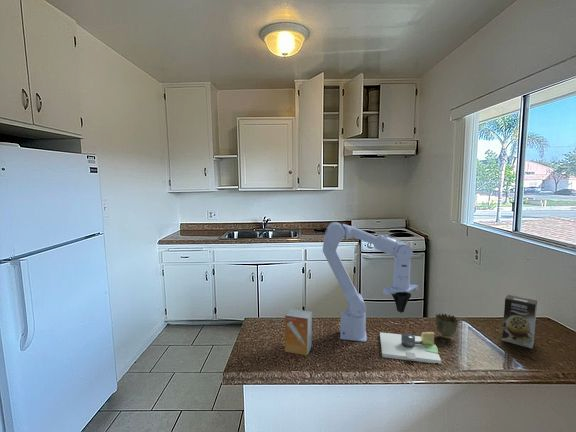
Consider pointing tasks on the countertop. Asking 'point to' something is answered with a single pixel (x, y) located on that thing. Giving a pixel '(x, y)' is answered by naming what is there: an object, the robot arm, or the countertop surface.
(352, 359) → the countertop surface
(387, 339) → the dial board
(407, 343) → the grey and tan piece
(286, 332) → the small box
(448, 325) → the olive rounded piece
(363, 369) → the countertop surface
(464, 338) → the countertop surface
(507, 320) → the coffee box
